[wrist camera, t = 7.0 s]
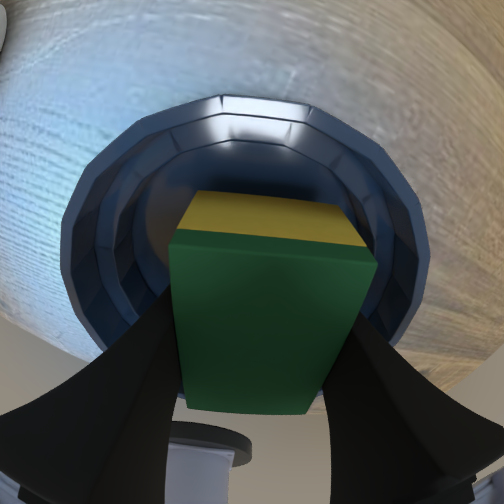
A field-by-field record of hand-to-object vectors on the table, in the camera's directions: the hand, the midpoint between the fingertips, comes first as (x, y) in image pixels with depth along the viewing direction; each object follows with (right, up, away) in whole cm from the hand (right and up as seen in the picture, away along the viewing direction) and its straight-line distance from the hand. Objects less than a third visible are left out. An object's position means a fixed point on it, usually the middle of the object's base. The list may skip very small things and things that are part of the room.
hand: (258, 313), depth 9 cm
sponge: (0, +1, +1) cm, 1 cm away
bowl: (-1, +2, +4) cm, 4 cm away
